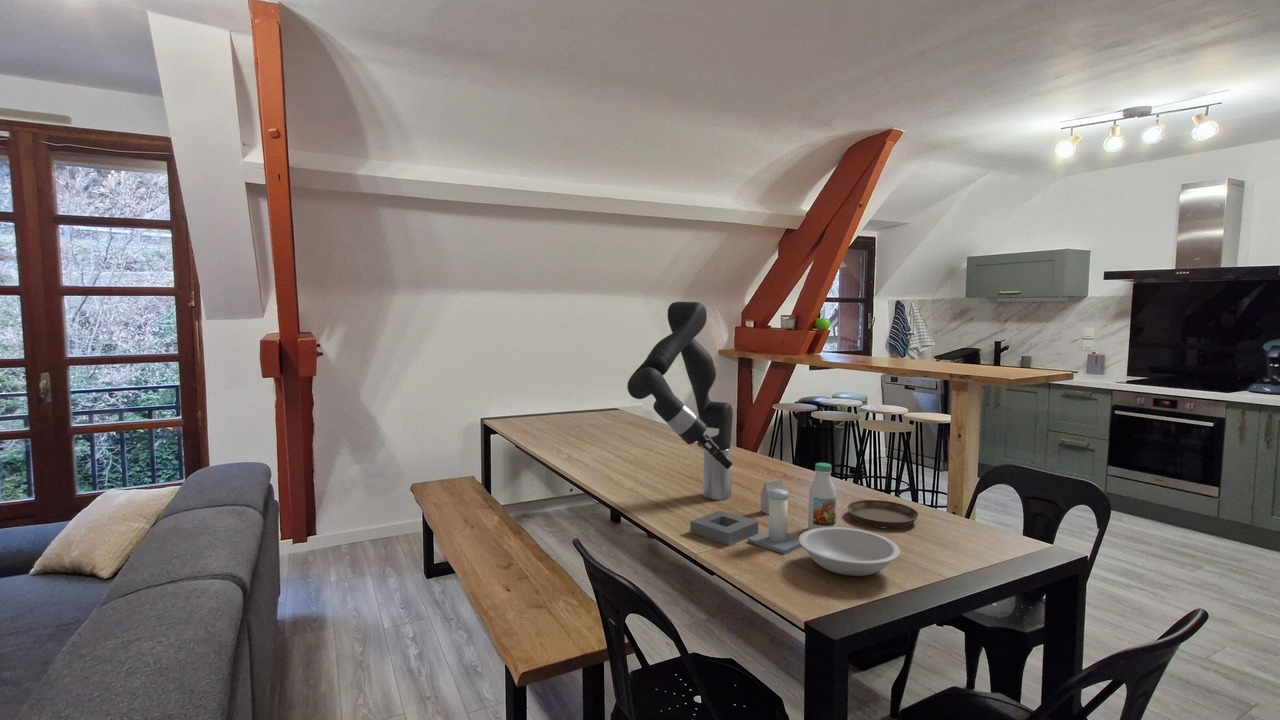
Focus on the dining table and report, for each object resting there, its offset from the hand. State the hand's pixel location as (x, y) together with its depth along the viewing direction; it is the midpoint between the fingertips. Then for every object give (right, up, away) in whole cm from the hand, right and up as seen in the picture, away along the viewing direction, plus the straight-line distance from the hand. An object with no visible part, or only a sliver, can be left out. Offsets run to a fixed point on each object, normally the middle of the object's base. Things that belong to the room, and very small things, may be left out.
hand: (725, 462), depth 173 cm
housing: (0, -21, +6) cm, 22 cm away
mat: (+14, -22, -2) cm, 26 cm away
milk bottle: (+29, -22, +8) cm, 37 cm away
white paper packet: (+19, -20, +25) cm, 37 cm away
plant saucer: (+51, -21, +18) cm, 58 cm away
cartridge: (+14, -21, -2) cm, 25 cm away
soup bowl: (+28, -24, -19) cm, 41 cm away
